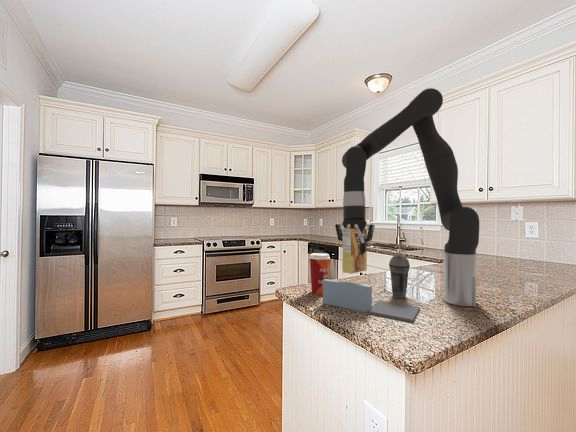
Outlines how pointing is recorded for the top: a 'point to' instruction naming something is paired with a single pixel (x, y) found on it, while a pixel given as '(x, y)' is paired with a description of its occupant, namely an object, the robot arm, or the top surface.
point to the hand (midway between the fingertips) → (354, 253)
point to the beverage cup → (399, 275)
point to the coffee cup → (318, 271)
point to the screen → (347, 295)
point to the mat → (394, 311)
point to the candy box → (353, 251)
